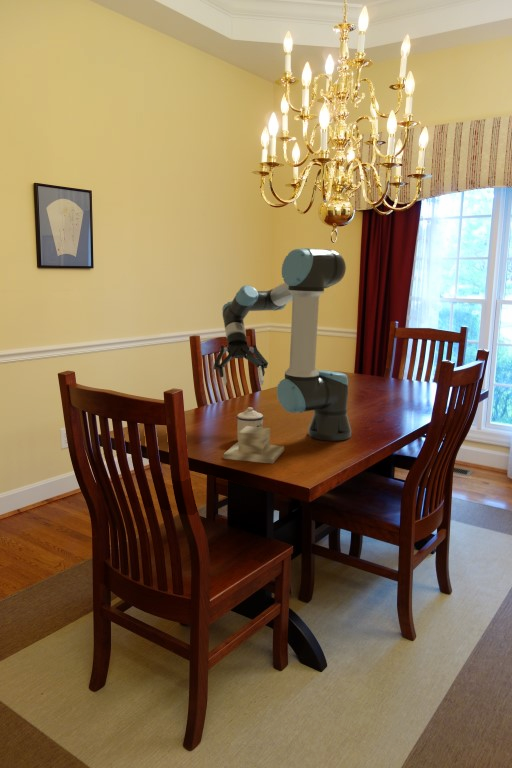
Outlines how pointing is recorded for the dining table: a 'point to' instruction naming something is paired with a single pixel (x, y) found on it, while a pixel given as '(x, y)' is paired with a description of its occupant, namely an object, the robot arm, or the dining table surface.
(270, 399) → the dining table surface
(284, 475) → the dining table surface
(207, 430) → the dining table surface
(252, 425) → the teacup with lid
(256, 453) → the stone pedestal
